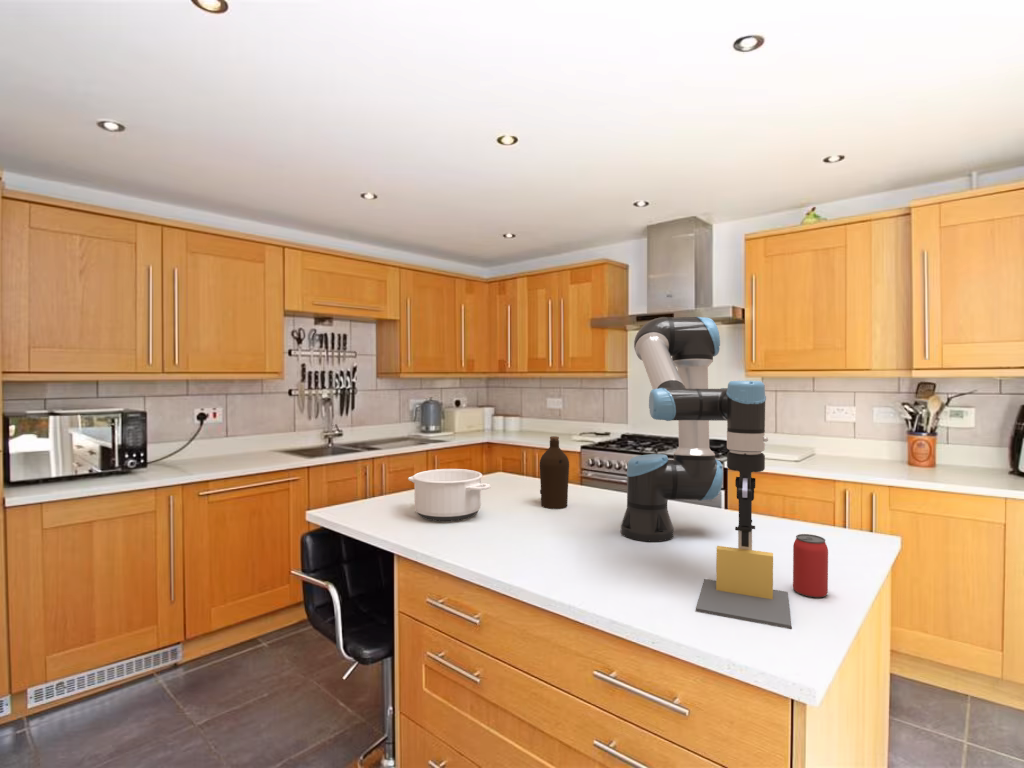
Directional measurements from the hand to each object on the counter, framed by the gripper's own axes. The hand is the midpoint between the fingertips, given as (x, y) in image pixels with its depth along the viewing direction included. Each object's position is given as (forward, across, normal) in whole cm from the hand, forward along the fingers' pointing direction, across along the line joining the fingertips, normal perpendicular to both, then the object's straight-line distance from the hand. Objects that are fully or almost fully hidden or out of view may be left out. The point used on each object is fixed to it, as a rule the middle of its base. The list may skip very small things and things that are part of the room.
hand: (745, 559), depth 115 cm
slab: (+7, -2, 0) cm, 7 cm away
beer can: (+7, +6, -13) cm, 16 cm away
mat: (+7, -6, 0) cm, 9 cm away
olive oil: (+7, +53, +64) cm, 84 cm away
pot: (+7, +26, +92) cm, 96 cm away
